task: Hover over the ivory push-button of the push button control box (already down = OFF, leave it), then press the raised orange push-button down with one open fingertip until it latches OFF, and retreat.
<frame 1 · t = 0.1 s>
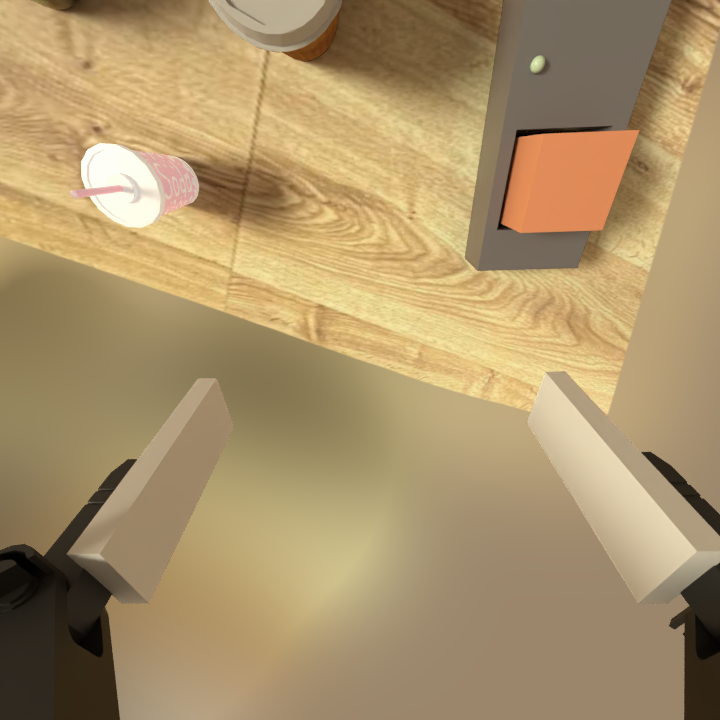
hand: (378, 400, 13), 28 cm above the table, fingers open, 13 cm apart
beverage cup: (177, 181, 33), on the table
push button control box: (549, 77, 28), on the table
button orange: (558, 183, 27), point 6 cm above the table, slide at 0.0 cm
disposable coffee cup: (301, 11, 26), on the table
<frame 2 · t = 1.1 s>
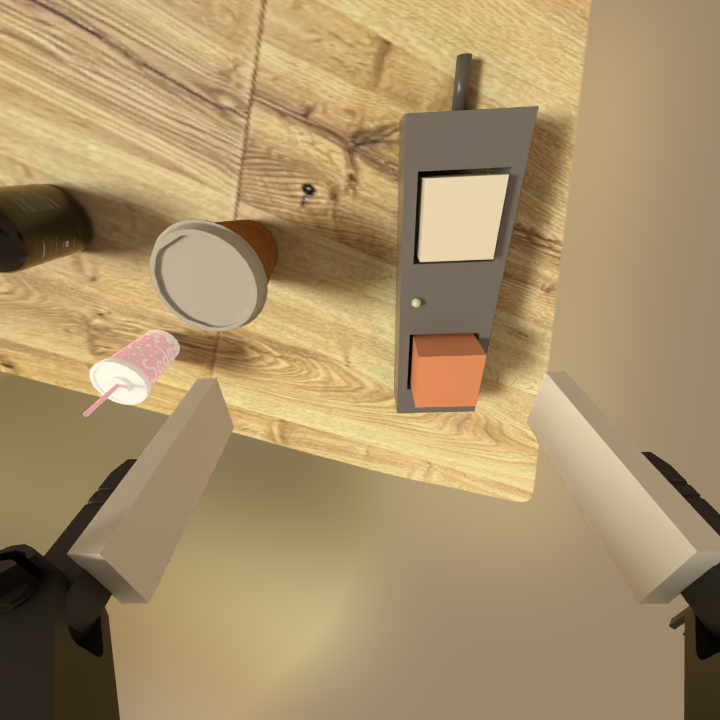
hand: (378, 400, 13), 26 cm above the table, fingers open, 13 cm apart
beverage cup: (163, 343, 43), on the table
push button control box: (439, 284, 37), on the table
button orange: (444, 369, 36), point 7 cm above the table, slide at 0.0 cm
supplement bottle: (62, 218, 34), on the table
button ivory: (454, 217, 30), point 3 cm above the table, slide at 3.0 cm
disposable coffee cup: (250, 249, 36), on the table
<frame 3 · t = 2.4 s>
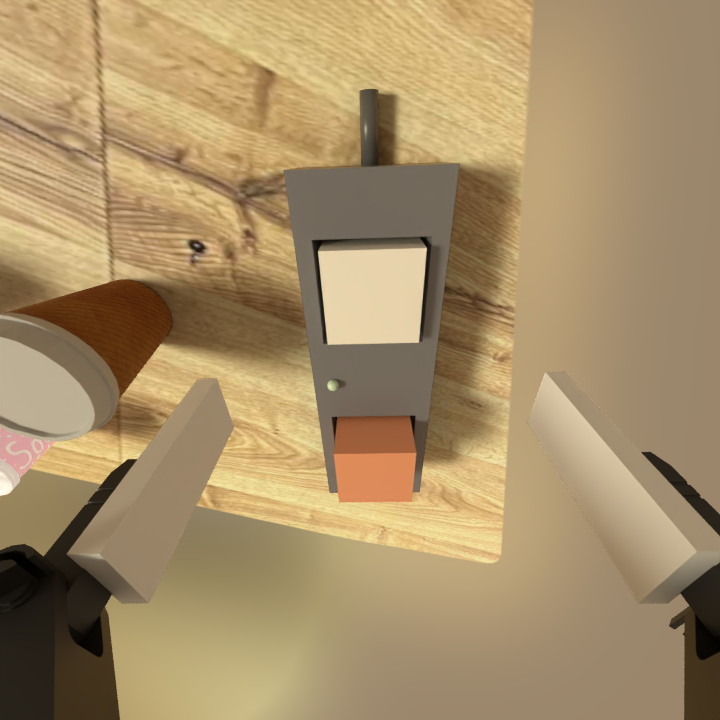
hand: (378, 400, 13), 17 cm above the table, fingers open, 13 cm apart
beverage cup: (56, 408, 36), on the table
push button control box: (372, 352, 31), on the table
button orange: (374, 457, 30), point 6 cm above the table, slide at 0.0 cm
button ivory: (371, 288, 24), point 3 cm above the table, slide at 3.0 cm
disposable coffee cup: (138, 311, 29), on the table
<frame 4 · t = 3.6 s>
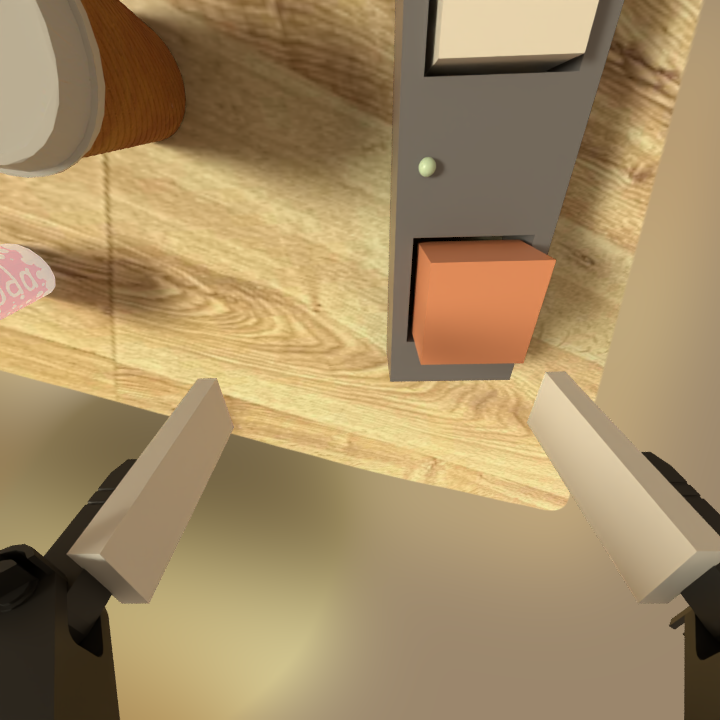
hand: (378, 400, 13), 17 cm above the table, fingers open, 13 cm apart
beverage cup: (28, 269, 27), on the table
push button control box: (463, 163, 22), on the table
button orange: (470, 301, 21), point 6 cm above the table, slide at 0.0 cm
disposable coffee cup: (137, 83, 20), on the table
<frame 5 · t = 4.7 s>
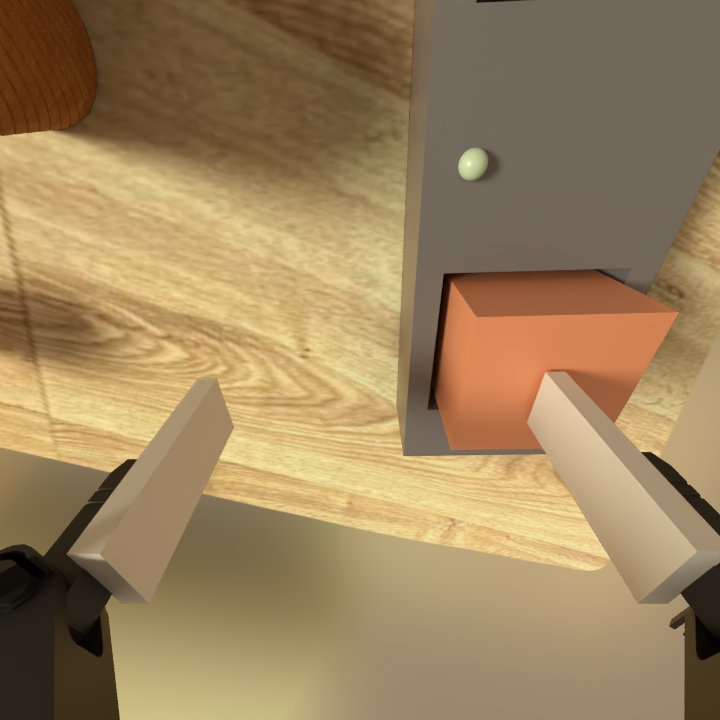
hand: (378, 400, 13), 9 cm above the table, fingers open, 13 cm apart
push button control box: (512, 158, 15), on the table
button orange: (521, 358, 15), point 6 cm above the table, slide at 0.7 cm, touching gripper
disposable coffee cup: (20, 39, 13), on the table
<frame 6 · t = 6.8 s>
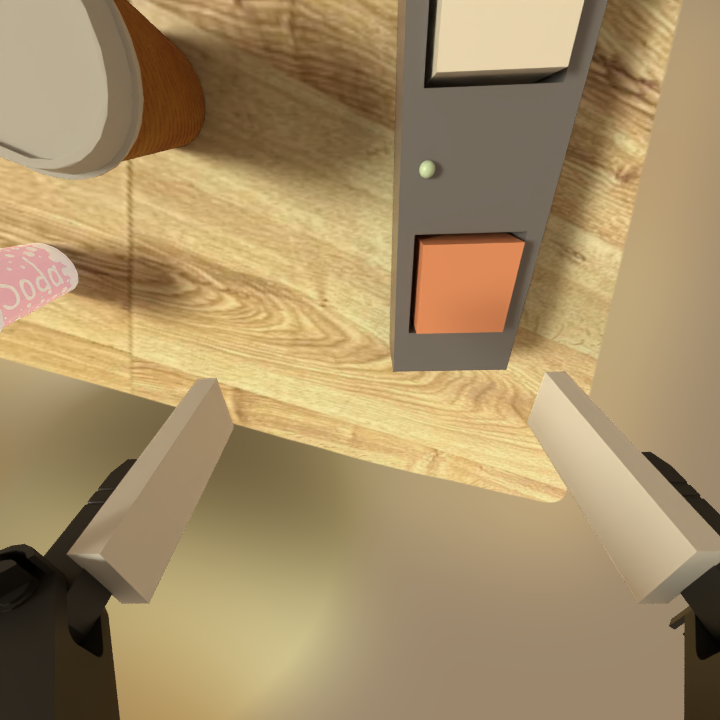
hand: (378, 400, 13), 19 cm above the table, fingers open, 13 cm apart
beverage cup: (53, 267, 29), on the table
push button control box: (460, 165, 24), on the table
button orange: (457, 281, 26), point 4 cm above the table, slide at 2.9 cm
disposable coffee cup: (161, 94, 22), on the table
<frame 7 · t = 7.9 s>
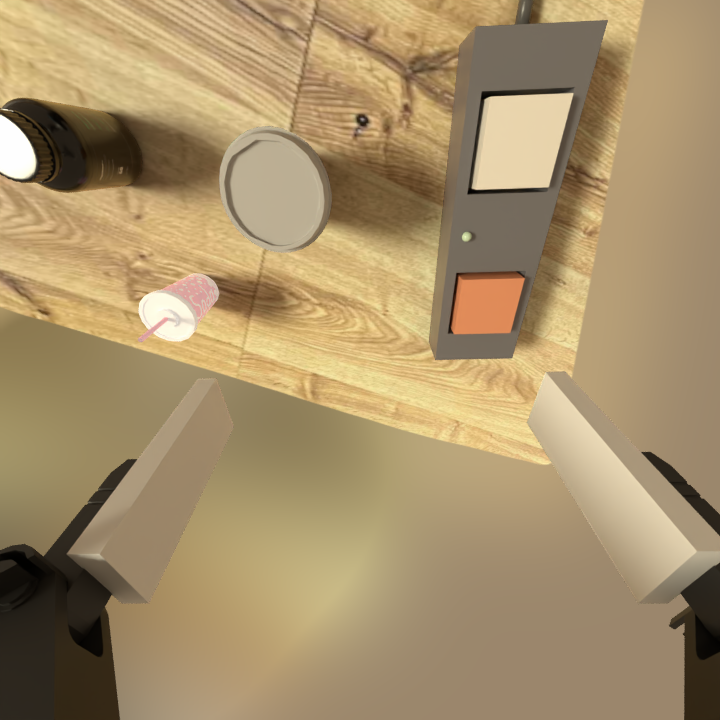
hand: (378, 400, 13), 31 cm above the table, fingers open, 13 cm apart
beverage cup: (202, 289, 43), on the table
push button control box: (483, 226, 38), on the table
button orange: (480, 299, 39), point 4 cm above the table, slide at 2.9 cm
supplement bottle: (112, 150, 34), on the table
button ivory: (510, 145, 30), point 3 cm above the table, slide at 3.0 cm
disposable coffee cup: (298, 185, 36), on the table
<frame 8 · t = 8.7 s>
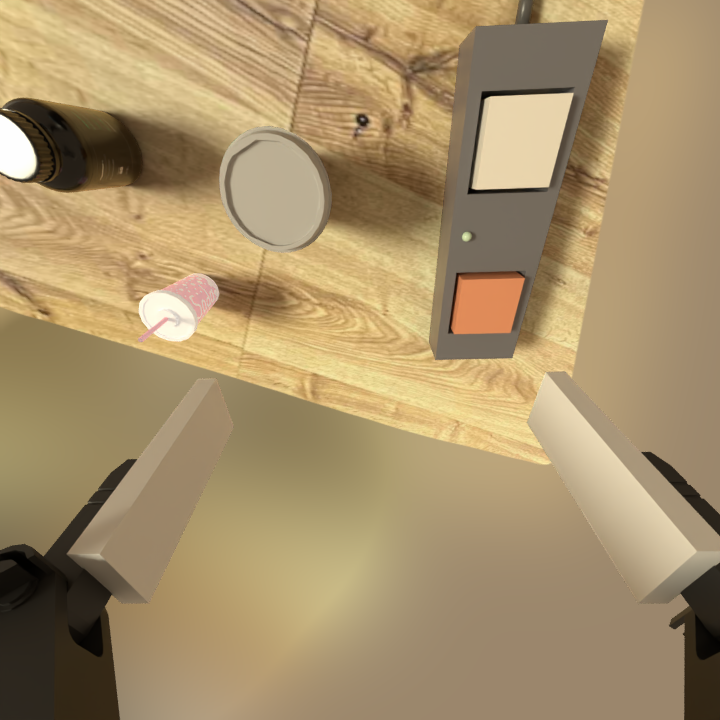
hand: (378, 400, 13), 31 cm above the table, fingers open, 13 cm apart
beverage cup: (202, 289, 43), on the table
push button control box: (483, 226, 38), on the table
button orange: (481, 299, 39), point 4 cm above the table, slide at 2.9 cm
supplement bottle: (112, 150, 34), on the table
button ivory: (510, 145, 30), point 3 cm above the table, slide at 3.0 cm
disposable coffee cup: (298, 185, 36), on the table
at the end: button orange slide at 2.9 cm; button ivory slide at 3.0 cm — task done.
